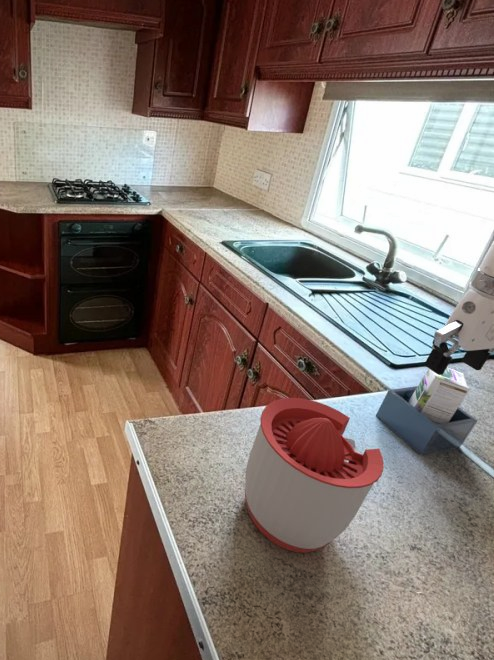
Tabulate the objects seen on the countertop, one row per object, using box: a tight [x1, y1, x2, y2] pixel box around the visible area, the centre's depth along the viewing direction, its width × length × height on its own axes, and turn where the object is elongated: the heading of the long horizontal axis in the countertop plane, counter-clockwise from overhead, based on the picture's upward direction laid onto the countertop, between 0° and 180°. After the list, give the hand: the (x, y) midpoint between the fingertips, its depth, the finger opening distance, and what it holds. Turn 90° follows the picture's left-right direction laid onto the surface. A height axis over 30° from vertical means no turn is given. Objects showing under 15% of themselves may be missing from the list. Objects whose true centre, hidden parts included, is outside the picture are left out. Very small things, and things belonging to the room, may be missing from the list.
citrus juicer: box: [244, 397, 385, 554], centre depth 58 cm, size 16×17×20 cm
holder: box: [375, 385, 478, 456], centre depth 81 cm, size 11×11×7 cm
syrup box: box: [408, 367, 471, 425], centre depth 80 cm, size 6×6×14 cm
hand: (451, 367), depth 76 cm, fingers open, 9 cm apart
